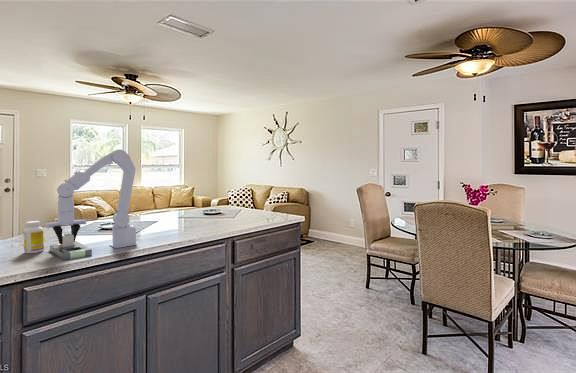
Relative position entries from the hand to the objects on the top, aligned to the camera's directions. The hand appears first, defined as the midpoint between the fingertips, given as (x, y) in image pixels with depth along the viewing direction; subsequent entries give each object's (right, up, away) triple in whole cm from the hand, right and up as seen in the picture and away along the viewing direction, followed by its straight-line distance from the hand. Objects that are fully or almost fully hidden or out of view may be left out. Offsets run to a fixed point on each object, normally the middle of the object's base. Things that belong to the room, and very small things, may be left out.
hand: (67, 242), depth 142 cm
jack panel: (+3, -4, -3) cm, 6 cm away
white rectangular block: (0, -4, 0) cm, 4 cm away
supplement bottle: (-13, -4, -2) cm, 13 cm away
